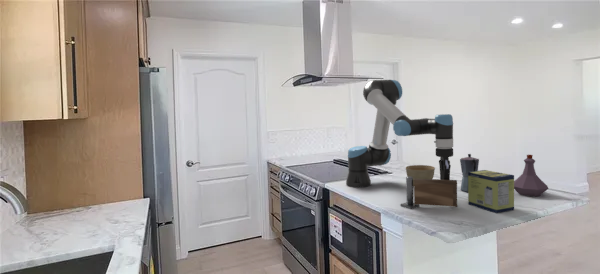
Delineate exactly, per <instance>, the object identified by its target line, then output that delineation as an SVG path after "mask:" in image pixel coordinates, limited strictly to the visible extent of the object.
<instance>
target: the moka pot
mask: <svg viewBox="0 0 600 274" xmlns="http://www.w3.org/2000/svg"><path fill="white" fill-rule="evenodd" d="M459 164H460V168H461V169H460V170H461V174H462V178H461V185H460V190H461V192H466V193H468V172H473V171H479V165H480V158H476V157H472V154H471V153H467V156H466V157H461V158H460V159H459Z"/></svg>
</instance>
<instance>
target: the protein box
mask: <svg viewBox="0 0 600 274" xmlns="http://www.w3.org/2000/svg"><path fill="white" fill-rule="evenodd" d="M514 181H515V175H513V174H509V173H502V172H498V171H492V170H487V169H482V170H478V171H473V172H468V192H467V194H468V196H467V199H468V201H467V203H468V205H470V206H473V207H476V208H479V209H482V210H485V211H487V212H492V213H495V214H498V213H504V212H509V211H514V210H515V189H514Z"/></svg>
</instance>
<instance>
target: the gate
mask: <svg viewBox="0 0 600 274" xmlns="http://www.w3.org/2000/svg"><path fill="white" fill-rule="evenodd" d="M413 203H414V204H419V205H421V206H424V205H425V206H436V207H437V206H439V207H454V208H456V207H458V180H457V179H450V180H441V179H440V178H439V179H437V178H436V179H434V178H433V179H414V186H413Z"/></svg>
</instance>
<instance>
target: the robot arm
mask: <svg viewBox="0 0 600 274" xmlns="http://www.w3.org/2000/svg"><path fill="white" fill-rule="evenodd" d="M362 92H363V93H362V95H363V98H364V100H365V101H366V103H368V104H369V105H372V106H374V107H375V108H376V117H375V123H374V129H373V135H372V140H371V142H369V145H368V146H366V145H357V146H353V147H351V148H349V149H348V151H347V162H348V163H347V164H348V173H347V177H346V181H345V184H346V186H348V187H352V188H365V187H369V186H371V185H372V180H371V178H370V175H369V171H368V168H369V167H376V166H377V167H378V166H379V167H380V166H384V165H387V164H388V163H389V162H390V161H391V158H392V157H391V156H392V153H391V149H390V148H389V145H388V136H389V130H390V124H392V130H393V132H394V135H396V136H398V137H407V136H409V137H410V136H419V135H420V136H421V135H422V136H423V135H435V136H434V137H435V140H434V141H433V142H434V143H435V156H436V157H439V158H440V159H439V160H438V165H439V166H438V167H439V176H440V177H439V179H441V180H451V177H450V176H451V160H449V159H450V158H451V157H454V121H453V120H454V119H453V115H452V114H447V113H446V114H443V113H442V114H436V115H435V116H434V118H427V117H424V118H418V119H417V118H415V119H410V118H409V116H407V115H406V114H405V113H404V112H402V111H401V110H400V109H399V108H398V107H397V106H396V105H397V101H399V100H400V99H401V98H402V97H403V88H402V85H401V83H400V82H399V81H398V80H395V79H376V80H375V79H373V80H370V81H368V82H367V83H366V84H365V86H364V87H363V91H362Z"/></svg>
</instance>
